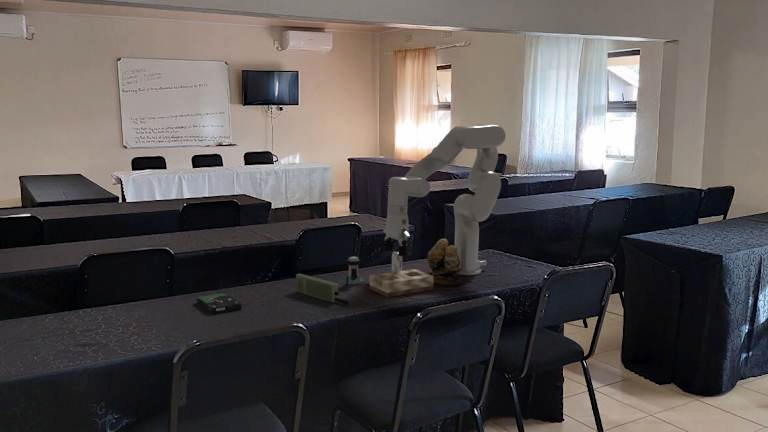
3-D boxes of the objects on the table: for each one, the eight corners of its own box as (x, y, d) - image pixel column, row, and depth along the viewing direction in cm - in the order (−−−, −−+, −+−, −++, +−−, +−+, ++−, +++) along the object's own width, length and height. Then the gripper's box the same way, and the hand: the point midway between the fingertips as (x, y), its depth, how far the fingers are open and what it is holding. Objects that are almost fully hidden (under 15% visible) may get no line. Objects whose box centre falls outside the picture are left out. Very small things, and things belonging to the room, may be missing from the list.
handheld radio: (302, 290, 240) (351, 305, 224) (295, 292, 238) (344, 307, 221) (301, 272, 239) (350, 286, 222) (294, 274, 236) (343, 288, 220)
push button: (359, 280, 254) (359, 255, 252) (366, 284, 249) (366, 258, 248) (343, 282, 250) (344, 256, 249) (350, 286, 246) (350, 259, 244)
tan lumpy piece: (471, 284, 251) (472, 240, 248) (447, 290, 244) (449, 244, 241) (439, 274, 265) (440, 232, 262) (416, 279, 258) (417, 235, 255)
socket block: (414, 281, 253) (414, 269, 252) (433, 289, 243) (433, 276, 242) (369, 288, 243) (369, 275, 242) (386, 297, 233) (387, 283, 232)
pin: (398, 276, 261) (398, 251, 259) (403, 278, 258) (404, 253, 256) (389, 277, 259) (390, 252, 257) (395, 279, 256) (395, 254, 254)
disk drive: (242, 311, 217) (225, 299, 229) (242, 303, 216) (225, 291, 228) (212, 316, 211) (196, 304, 223) (211, 308, 210) (195, 296, 222)
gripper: (418, 212, 249) (415, 257, 251) (393, 205, 263) (391, 248, 266) (401, 213, 245) (399, 258, 247) (377, 206, 259) (375, 249, 262)
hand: (395, 253), depth 256 cm, fingers open, 9 cm apart
